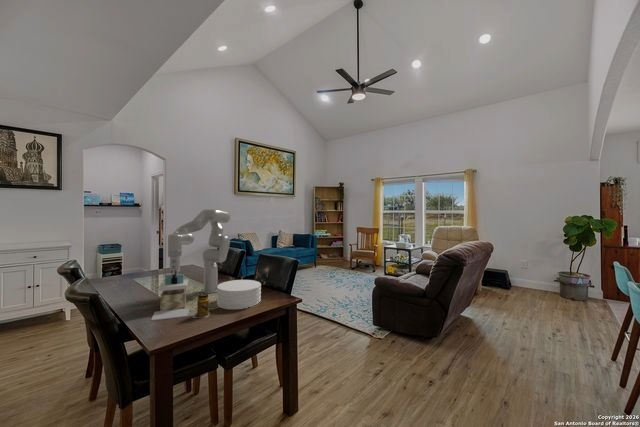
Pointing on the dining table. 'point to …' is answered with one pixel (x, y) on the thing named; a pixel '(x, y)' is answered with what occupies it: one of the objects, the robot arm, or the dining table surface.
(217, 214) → the robot arm
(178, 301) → the crate
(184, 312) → the mat
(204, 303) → the condiment
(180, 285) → the lid
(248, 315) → the dining table surface
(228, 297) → the plate stack
